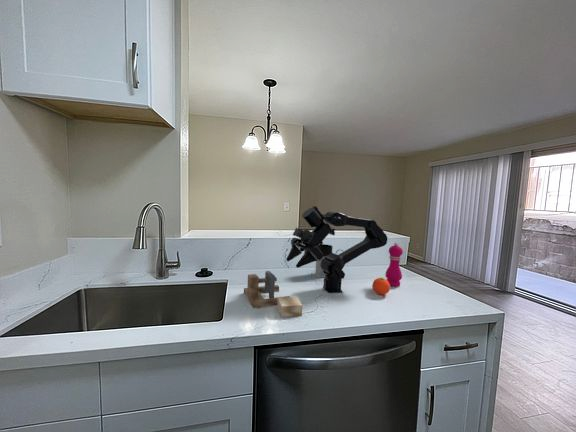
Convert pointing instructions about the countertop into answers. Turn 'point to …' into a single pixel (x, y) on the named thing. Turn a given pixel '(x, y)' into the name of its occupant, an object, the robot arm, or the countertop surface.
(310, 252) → the robot arm
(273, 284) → the gray arch
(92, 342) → the countertop surface
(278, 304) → the oak block
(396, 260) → the pepper mill
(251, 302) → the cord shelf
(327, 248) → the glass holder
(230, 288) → the countertop surface
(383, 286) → the clementine
